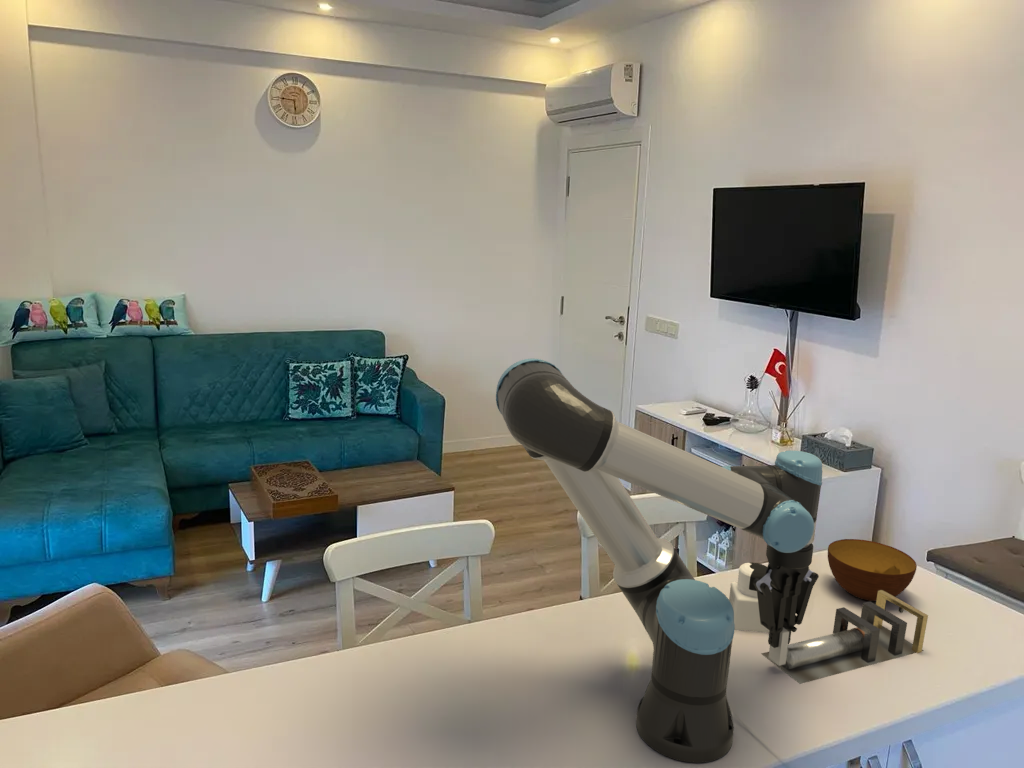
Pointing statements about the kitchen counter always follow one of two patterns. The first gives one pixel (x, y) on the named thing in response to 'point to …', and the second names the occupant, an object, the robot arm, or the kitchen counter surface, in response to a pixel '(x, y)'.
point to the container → (747, 598)
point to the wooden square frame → (921, 616)
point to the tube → (824, 648)
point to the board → (844, 661)
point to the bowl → (870, 568)
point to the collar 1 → (870, 630)
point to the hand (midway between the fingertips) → (776, 660)
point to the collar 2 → (897, 624)
